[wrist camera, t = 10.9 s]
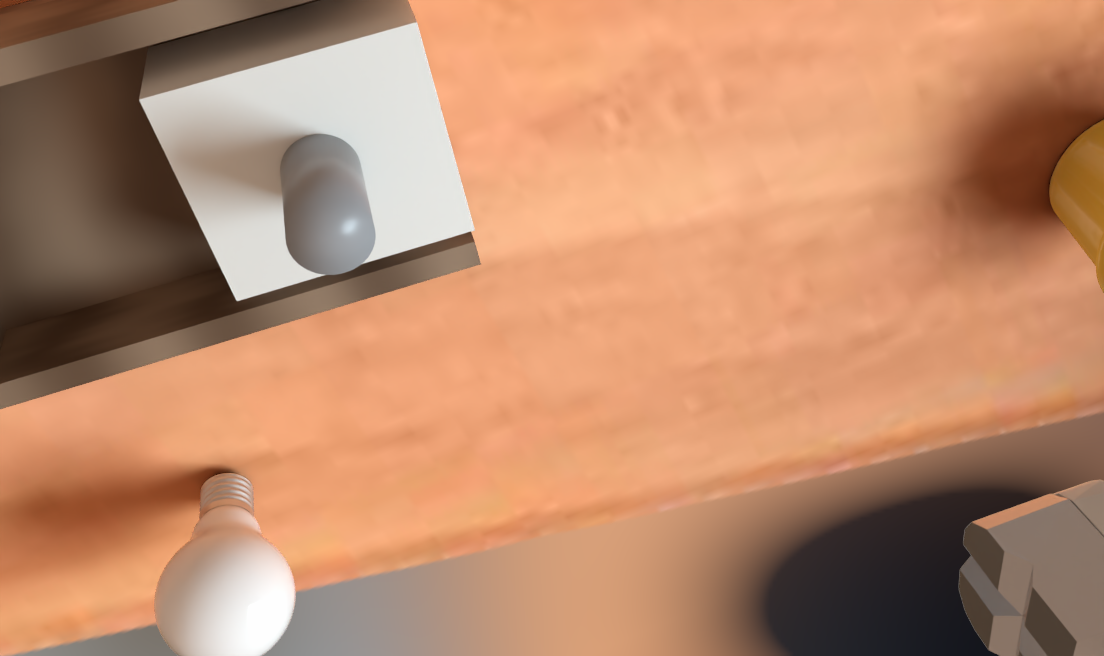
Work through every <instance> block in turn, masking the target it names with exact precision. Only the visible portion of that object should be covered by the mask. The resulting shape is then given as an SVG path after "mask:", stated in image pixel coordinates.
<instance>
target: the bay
mask: <svg viewBox="0 0 1104 656" xmlns="http://www.w3.org/2000/svg"><path fill="white" fill-rule="evenodd" d="M316 1H319V0H31V1H27V2H23V3H19V4H16V5H12V6H8V7H5V8H1V9H0V409H3V408H6V407H9V406H12V405H16V404H19V403H22V402H26V401H29V400H32V399H36V398H39V397H42V396H46V395H49V394H52V393H56V392H59V391H62V390H66V389H69V388H72V387H75V386H79V385H82V384H85V383H89V382H92V381H95V380H99V379H102V378H105V377H109V376H112V375H115V374H119V373H122V372H125V371H128V370H132V369H135V368H138V367H142V366H145V365H148V364H152V363H155V362H158V361H162V360H165V359H168V358H172V357H175V356H178V355H181V354H185V353H188V352H191V351H195V350H198V349H201V348H205V347H208V346H211V345H215V344H218V343H221V342H225V341H228V340H231V339H234V338H238V337H241V336H244V335H248V334H251V333H254V332H258V331H261V330H264V329H268V328H271V327H274V326H278V325H281V324H284V323H288V322H291V321H294V320H297V319H301V318H304V317H307V316H311V315H314V314H317V313H321V312H324V311H327V310H331V309H334V308H337V307H341V306H344V305H347V304H350V303H354V302H357V301H360V300H364V299H367V298H370V297H374V296H377V295H380V294H384V293H387V292H390V291H394V290H397V289H400V288H403V287H407V286H410V285H413V284H417V283H420V282H423V281H427V280H430V279H433V278H437V277H440V276H443V275H447V274H450V273H453V272H456V271H460V270H463V269H466V268H470V267H473V266H476V265H480V264H481V263H480V259H479V256H478V252H477V249H476V245H475V242H474V239H473V236H472V233H471V232H467V233H464V234H461V235H457V236H454V237H451V238H447V239H444V240H441V241H437V242H434V243H431V244H427V245H424V246H421V247H417V248H414V249H411V250H407V251H404V252H400V253H397V254H394V255H390V256H387V257H384V258H380V259H377V260H374V261H370V262H367V263H364V264H361V265H360V266H358V267H356V268H355V269H353V270H351V271H348V272H345V273H342V274H336V275H323V276H320V277H317V278H313V279H310V280H307V281H303V282H300V283H297V284H293V285H290V286H287V287H283V288H280V289H277V290H273V291H270V292H267V293H263V294H260V295H257V296H253V297H250V298H246V299H243V300H240V301H236V299H235V297H234V295H233V293H232V291H231V288H230V286H229V284H228V282H227V280H226V278H225V276H224V274H223V272H222V270H221V268H220V266H219V264H218V262H217V260H216V258H215V255H214V253H213V251H212V249H211V247H210V245H209V243H208V241H207V239H206V237H205V235H204V233H203V231H202V229H201V227H200V225H199V222H198V220H197V218H196V216H195V214H194V212H193V210H192V208H191V206H190V204H189V202H188V200H187V198H186V196H185V194H184V192H183V189H182V187H181V185H180V183H179V181H178V179H177V177H176V175H175V173H174V171H173V169H172V167H171V165H170V163H169V161H168V159H167V156H166V154H165V152H164V150H163V148H162V146H161V144H160V142H159V140H158V138H157V136H156V134H155V132H154V130H153V128H152V126H151V123H150V121H149V119H148V117H147V115H146V113H145V111H144V109H143V107H142V105H141V103H140V101H139V97H140V91H141V86H142V80H143V75H144V69H145V64H146V58H147V53H148V48H149V47H152V46H156V45H159V44H163V43H167V42H170V41H174V40H178V39H181V38H185V37H189V36H192V35H196V34H199V33H203V32H207V31H210V30H214V29H218V28H221V27H225V26H228V25H232V24H236V23H239V22H243V21H247V20H250V19H254V18H258V17H261V16H265V15H268V14H272V13H276V12H279V11H283V10H287V9H290V8H294V7H298V6H301V5H305V4H308V3H312V2H316Z"/></svg>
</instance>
